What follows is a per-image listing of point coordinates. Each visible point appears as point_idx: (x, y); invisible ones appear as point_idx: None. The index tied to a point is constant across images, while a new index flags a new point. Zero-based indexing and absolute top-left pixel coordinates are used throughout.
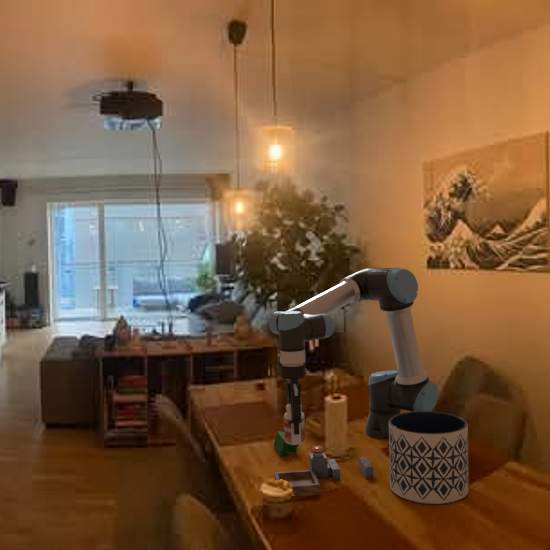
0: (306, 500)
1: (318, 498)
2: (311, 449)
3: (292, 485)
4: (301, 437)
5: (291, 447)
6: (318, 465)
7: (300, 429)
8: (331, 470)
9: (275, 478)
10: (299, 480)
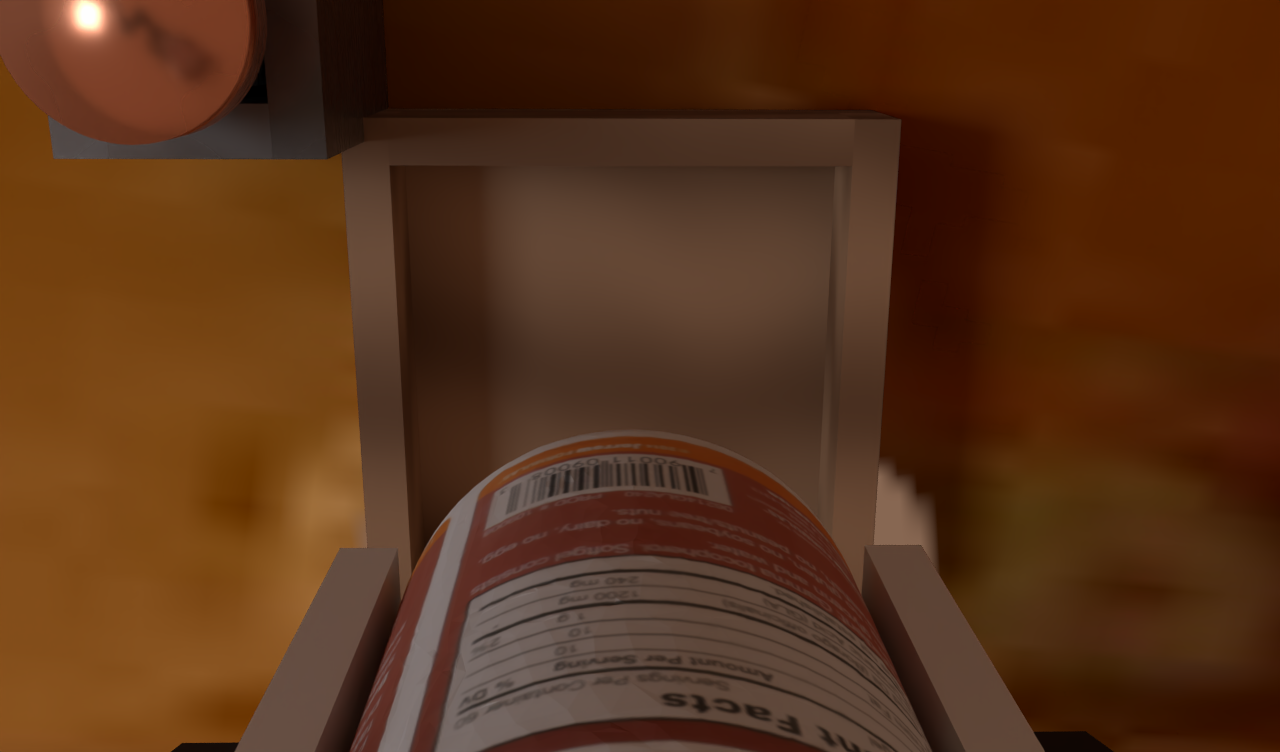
0: (986, 288)
1: (968, 143)
2: (148, 142)
3: (841, 460)
4: (852, 580)
5: None
6: (342, 35)
7: (1041, 747)
8: None
9: None
10: (487, 309)
